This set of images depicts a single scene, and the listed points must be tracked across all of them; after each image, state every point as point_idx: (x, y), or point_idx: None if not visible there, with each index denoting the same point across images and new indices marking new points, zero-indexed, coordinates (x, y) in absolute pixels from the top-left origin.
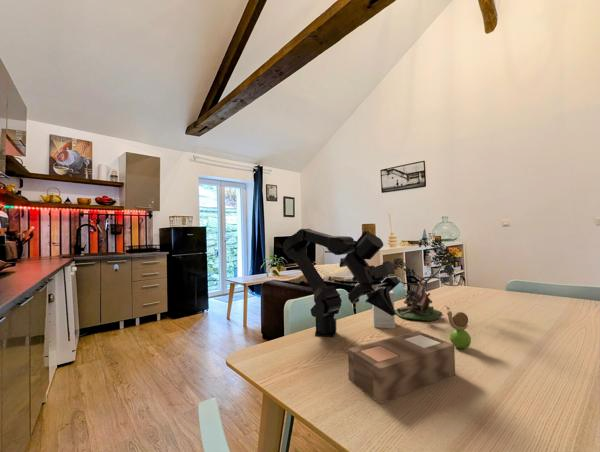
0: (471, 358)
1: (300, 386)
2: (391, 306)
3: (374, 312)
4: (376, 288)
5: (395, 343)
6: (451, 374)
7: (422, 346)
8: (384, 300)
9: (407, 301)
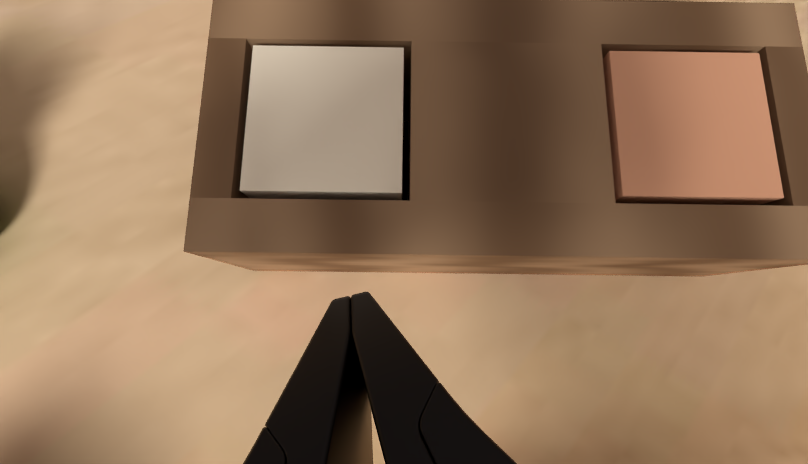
0: (63, 132)
1: None
2: (345, 351)
3: None
4: None
5: (507, 170)
6: None
7: (395, 63)
8: (466, 419)
9: None
